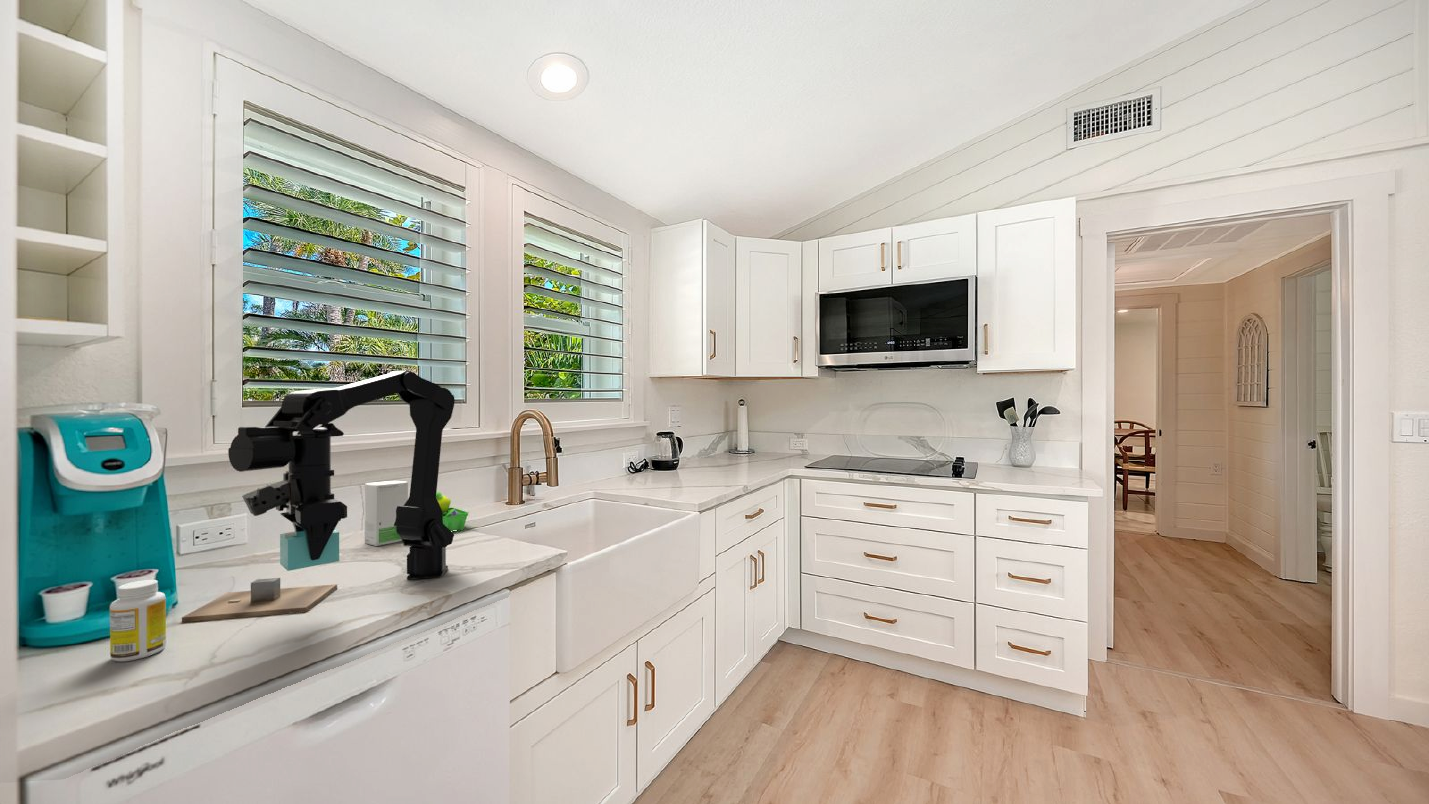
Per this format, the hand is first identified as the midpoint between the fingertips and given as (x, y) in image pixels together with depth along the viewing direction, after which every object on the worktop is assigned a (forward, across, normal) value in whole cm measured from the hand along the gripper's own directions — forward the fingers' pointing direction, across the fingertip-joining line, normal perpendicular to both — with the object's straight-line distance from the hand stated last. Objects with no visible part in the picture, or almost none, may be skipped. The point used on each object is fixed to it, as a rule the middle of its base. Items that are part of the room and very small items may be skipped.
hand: (310, 556), depth 91 cm
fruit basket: (+11, -47, +42) cm, 64 cm away
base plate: (+10, -14, -4) cm, 18 cm away
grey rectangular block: (+10, -14, -4) cm, 18 cm away
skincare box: (+11, -46, +26) cm, 53 cm away
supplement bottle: (+11, -3, -20) cm, 23 cm away
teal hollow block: (+1, 0, 0) cm, 1 cm away
